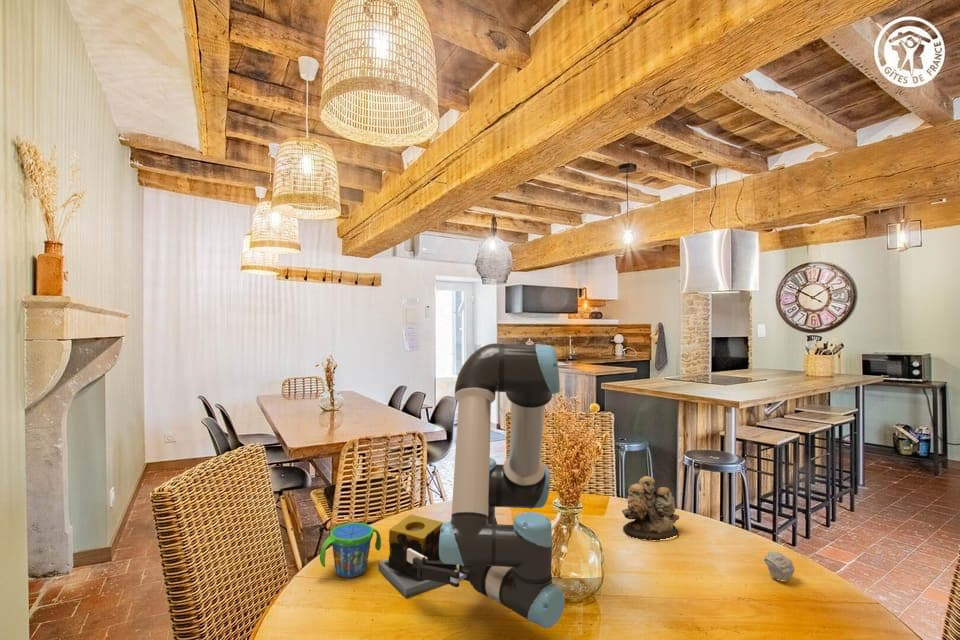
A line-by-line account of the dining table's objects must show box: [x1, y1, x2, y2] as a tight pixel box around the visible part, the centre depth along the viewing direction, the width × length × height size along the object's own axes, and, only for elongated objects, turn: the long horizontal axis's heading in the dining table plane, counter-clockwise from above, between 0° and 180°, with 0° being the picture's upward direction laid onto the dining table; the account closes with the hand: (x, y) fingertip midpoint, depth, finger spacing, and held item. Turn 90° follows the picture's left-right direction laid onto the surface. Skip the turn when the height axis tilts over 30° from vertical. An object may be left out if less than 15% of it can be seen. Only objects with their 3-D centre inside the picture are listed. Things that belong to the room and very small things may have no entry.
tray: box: [377, 559, 460, 599], centre depth 119 cm, size 15×15×2 cm
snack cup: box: [319, 522, 382, 579], centre depth 120 cm, size 16×10×10 cm
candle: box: [388, 514, 444, 577], centre depth 120 cm, size 10×10×10 cm
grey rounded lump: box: [763, 550, 795, 581], centre depth 119 cm, size 6×7×7 cm
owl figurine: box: [621, 475, 680, 541], centre depth 146 cm, size 18×12×17 cm, turn 101°
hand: (430, 545), depth 115 cm, fingers open, 13 cm apart
